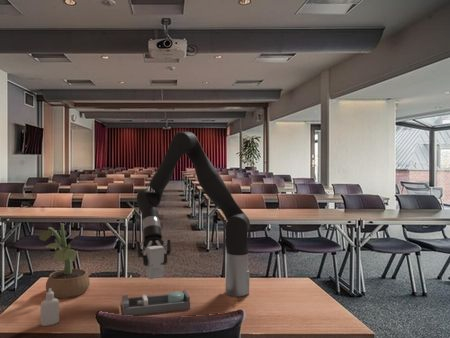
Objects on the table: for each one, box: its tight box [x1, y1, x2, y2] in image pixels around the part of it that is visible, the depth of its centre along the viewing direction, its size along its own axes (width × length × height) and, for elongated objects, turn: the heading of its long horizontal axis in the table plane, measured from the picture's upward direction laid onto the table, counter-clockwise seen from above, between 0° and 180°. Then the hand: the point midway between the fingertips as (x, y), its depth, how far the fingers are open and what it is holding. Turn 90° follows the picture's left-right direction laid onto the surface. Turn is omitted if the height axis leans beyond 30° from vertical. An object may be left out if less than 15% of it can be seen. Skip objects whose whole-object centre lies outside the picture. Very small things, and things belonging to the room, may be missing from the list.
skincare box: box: [145, 245, 165, 280], centre depth 154 cm, size 6×4×12 cm
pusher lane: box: [121, 289, 191, 316], centre depth 144 cm, size 24×10×5 cm, turn 108°
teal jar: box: [167, 291, 184, 303], centre depth 146 cm, size 6×6×4 cm
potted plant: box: [38, 223, 91, 299], centre depth 156 cm, size 22×18×30 cm
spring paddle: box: [137, 293, 148, 306], centre depth 142 cm, size 3×7×4 cm, turn 18°
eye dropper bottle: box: [40, 288, 60, 327], centre depth 130 cm, size 4×6×12 cm
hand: (155, 264), depth 152 cm, fingers closed on skincare box, 6 cm apart
